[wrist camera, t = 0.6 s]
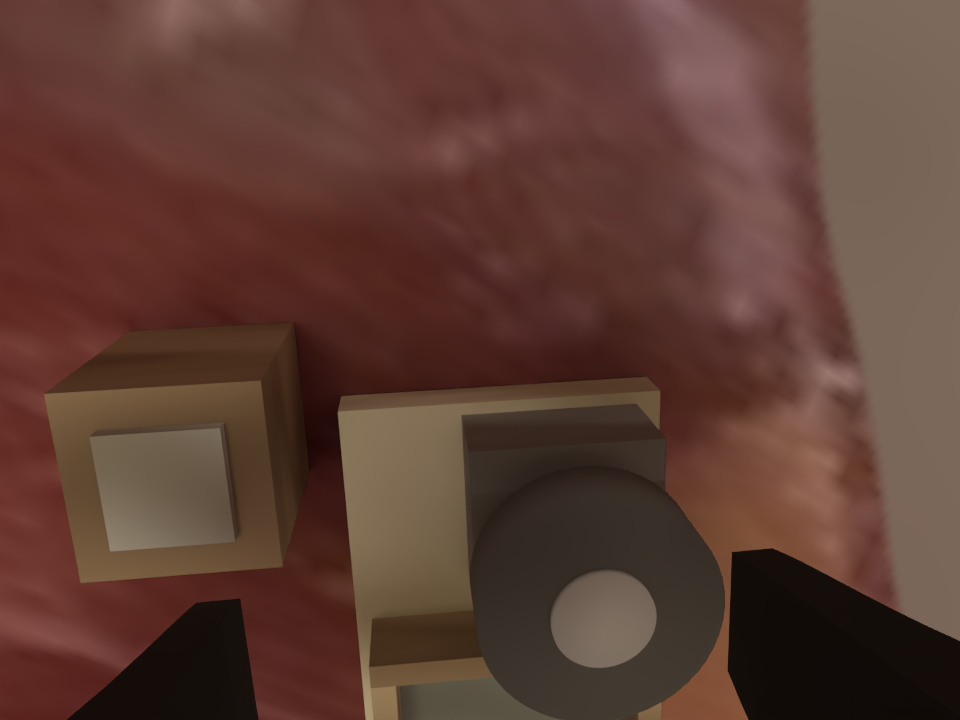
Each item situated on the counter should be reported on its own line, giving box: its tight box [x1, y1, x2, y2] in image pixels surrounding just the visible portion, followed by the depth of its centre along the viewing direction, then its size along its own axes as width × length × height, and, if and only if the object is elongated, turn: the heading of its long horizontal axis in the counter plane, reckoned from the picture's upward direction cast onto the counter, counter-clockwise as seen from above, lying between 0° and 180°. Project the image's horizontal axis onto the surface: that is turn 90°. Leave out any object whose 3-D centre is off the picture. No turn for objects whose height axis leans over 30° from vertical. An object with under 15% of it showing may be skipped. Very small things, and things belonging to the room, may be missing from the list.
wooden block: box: [44, 322, 309, 583], centre depth 18 cm, size 4×4×5 cm
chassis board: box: [338, 377, 666, 720], centre depth 21 cm, size 13×8×4 cm, turn 2°
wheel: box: [470, 466, 725, 720], centre depth 17 cm, size 5×5×4 cm
